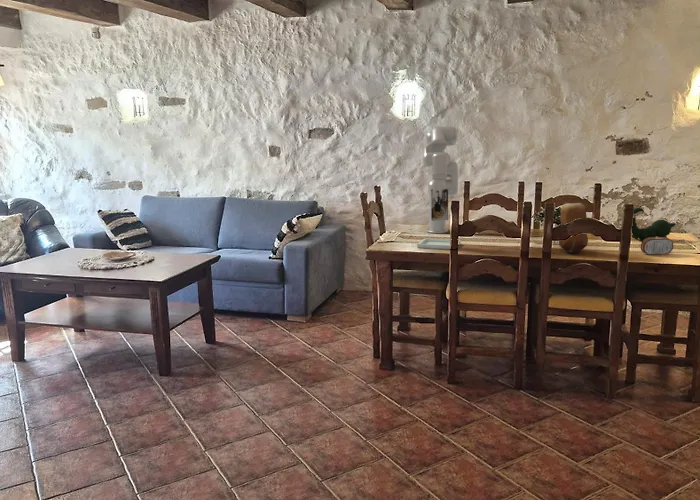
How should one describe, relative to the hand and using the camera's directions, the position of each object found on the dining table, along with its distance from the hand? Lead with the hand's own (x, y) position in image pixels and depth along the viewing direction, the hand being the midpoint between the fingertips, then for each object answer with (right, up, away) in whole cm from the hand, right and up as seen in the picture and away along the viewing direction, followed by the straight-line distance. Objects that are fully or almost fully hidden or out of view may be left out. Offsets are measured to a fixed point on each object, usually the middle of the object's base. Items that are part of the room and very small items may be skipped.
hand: (439, 210), depth 303 cm
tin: (+101, -24, -28) cm, 107 cm away
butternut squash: (+63, -23, -20) cm, 70 cm away
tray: (+1, -19, +4) cm, 19 cm away
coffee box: (0, -5, +1) cm, 5 cm away
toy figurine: (+114, -16, +5) cm, 116 cm away
